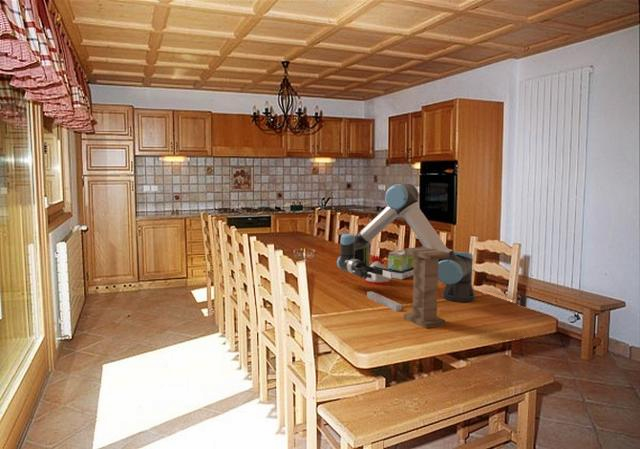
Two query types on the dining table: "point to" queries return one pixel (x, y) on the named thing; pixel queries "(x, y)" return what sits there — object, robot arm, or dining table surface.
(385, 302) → the aluminium bar
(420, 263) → the walnut pedestal
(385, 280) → the kitchen timer
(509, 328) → the dining table surface
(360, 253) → the electrical component
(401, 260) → the tea box
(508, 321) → the dining table surface
